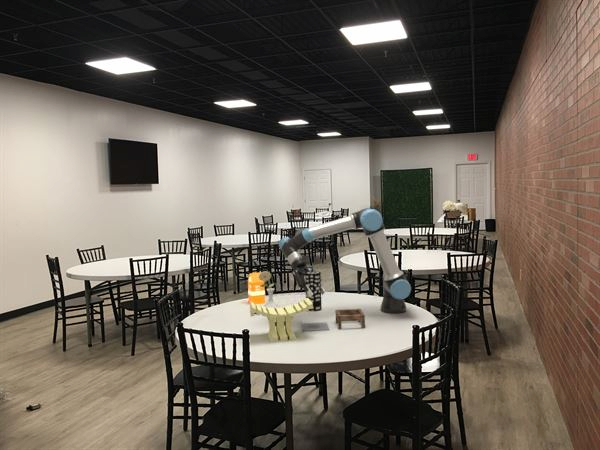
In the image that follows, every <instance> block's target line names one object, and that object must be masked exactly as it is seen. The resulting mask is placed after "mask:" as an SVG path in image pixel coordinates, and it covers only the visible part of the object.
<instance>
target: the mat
mask: <svg viewBox="0 0 600 450" xmlns="http://www.w3.org/2000/svg"><path fill="white" fill-rule="evenodd" d="M301 329H302V332H312V331H313V332H317V331H330V328H329V324H328V322H327V321H326V322H307V323H305V322H302V323H301Z"/></svg>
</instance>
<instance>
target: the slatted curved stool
mask: <svg viewBox="0 0 600 450" xmlns="http://www.w3.org/2000/svg"><path fill="white" fill-rule="evenodd" d="M260 305H261V304H256V305H254V303H253V302H250V303H249V311H250V312H249V313H250V317H255V316H262V317H265V318H266V319H267V322H268V324H269V325H268V327H269V329H268V332H267V333H268V334H267V335H268V338H269V340H270V342H279V341H280V342H285V341H288V340H289V341H296V340H298V339H297V337H296V336H295V333H294V332H293V329H292V321H293V318H294V316H297V314H302V313H304V312H305V313H310V311H309V309H313V303H312V302H311V301H310V300H309V298H306V297H304V299H303V300H300V301H298V303H297V302H296V303H293V304H291V305H286V306H284V307H281V306H280V307H278V308H273V307H267V309H266V308H265V306H264V305H261V306H260Z"/></svg>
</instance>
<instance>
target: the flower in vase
mask: <svg viewBox="0 0 600 450" xmlns="http://www.w3.org/2000/svg"><path fill="white" fill-rule="evenodd" d="M270 272H271V271H266V270H264V271H262V272H261V273H260V272H259V273H260V274H259V276H258V278H259V280H261V281H262V280H263V281H264V282H268V281H270V279H271V278H272V273H270ZM274 285H275V282H273V283H270V284H269V286H268V284H267V283H264V284H262V285H261V286H260V287H267V288H266V291H267V293H268V301H267V302H265V303H264V305H263V306H265V308H266V309H267V307H273V308H278V307H281V306H280V305H279V304H278V303H276V302H275V301H274V299H273V297H274V296H273V295H274V290H275V288H272V287H273V286H274Z"/></svg>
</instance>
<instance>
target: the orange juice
mask: <svg viewBox="0 0 600 450" xmlns="http://www.w3.org/2000/svg"><path fill="white" fill-rule="evenodd" d="M260 273H261V272H254V273H253V272H252V273H251V272H250V273H249V275H248V280H247V289H248V290H247V291H248V295H247V296H248V303H249V304H250V302H253V303H254V305H255V306H256V304H259V305H263V304H264V305H265V304H266V291H265V287H266V286H265V287H260V286H261V285H262V284H265V281H263V280H262V281H261V280H259V278H258V276H259V274H260Z"/></svg>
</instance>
